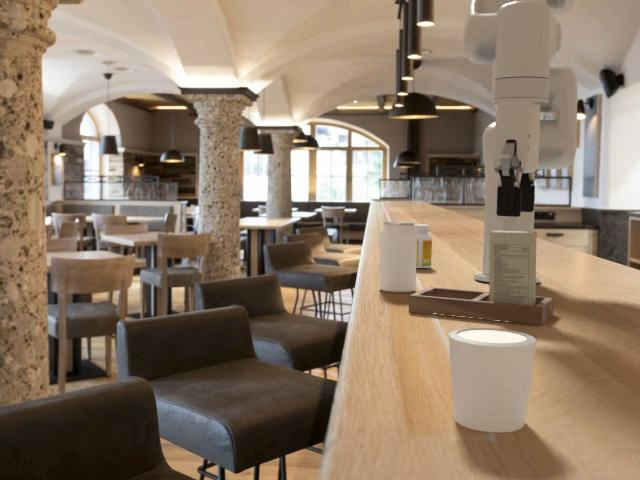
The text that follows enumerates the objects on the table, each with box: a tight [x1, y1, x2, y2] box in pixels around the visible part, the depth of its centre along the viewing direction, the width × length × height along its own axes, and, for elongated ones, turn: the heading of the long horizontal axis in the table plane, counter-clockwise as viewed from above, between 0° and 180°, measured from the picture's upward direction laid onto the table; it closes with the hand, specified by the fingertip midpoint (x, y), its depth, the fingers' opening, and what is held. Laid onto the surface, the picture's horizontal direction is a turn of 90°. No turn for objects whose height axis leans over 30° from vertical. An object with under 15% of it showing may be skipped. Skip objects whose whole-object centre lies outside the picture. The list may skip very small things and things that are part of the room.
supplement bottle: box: [415, 223, 433, 269], centre depth 160 cm, size 5×5×10 cm
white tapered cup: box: [448, 327, 537, 434], centre depth 57 cm, size 7×7×7 cm
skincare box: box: [488, 230, 537, 306], centre depth 102 cm, size 6×4×12 cm
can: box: [378, 221, 417, 294], centre depth 125 cm, size 6×6×12 cm
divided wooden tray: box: [408, 286, 555, 326], centre depth 105 cm, size 10×19×2 cm, turn 63°
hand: (515, 213), depth 102 cm, fingers open, 9 cm apart
